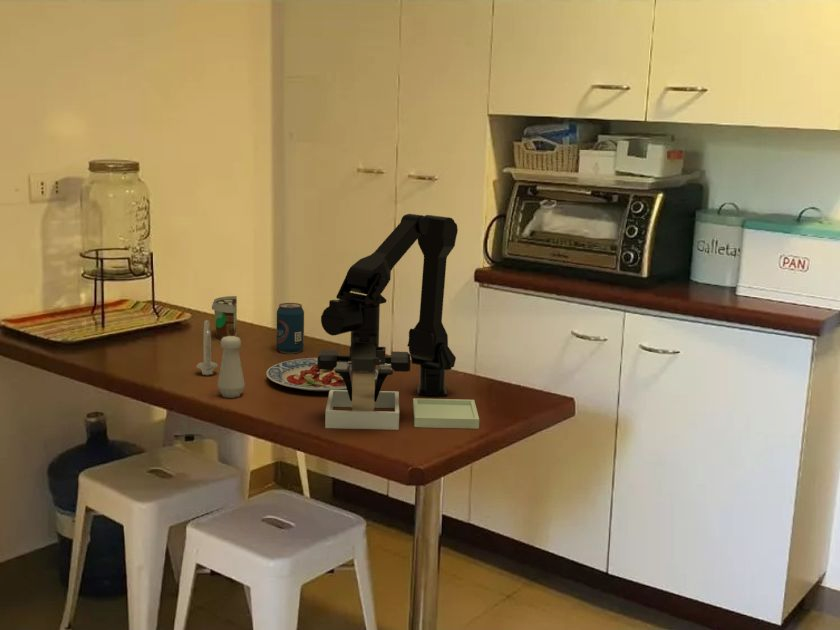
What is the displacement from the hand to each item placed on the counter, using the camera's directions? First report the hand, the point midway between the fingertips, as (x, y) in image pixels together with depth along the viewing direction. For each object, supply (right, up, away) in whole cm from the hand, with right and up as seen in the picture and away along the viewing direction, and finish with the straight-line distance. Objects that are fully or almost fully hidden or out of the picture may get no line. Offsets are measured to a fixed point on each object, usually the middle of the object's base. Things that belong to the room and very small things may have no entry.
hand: (363, 400), depth 207 cm
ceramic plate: (-11, +2, +26) cm, 28 cm away
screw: (-38, +4, +28) cm, 47 cm away
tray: (+17, -4, +2) cm, 17 cm away
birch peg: (0, -3, +1) cm, 4 cm away
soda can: (-22, +8, +51) cm, 56 cm away
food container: (-41, +12, +63) cm, 76 cm away
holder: (0, -3, +1) cm, 4 cm away
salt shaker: (-29, 0, +12) cm, 32 cm away
